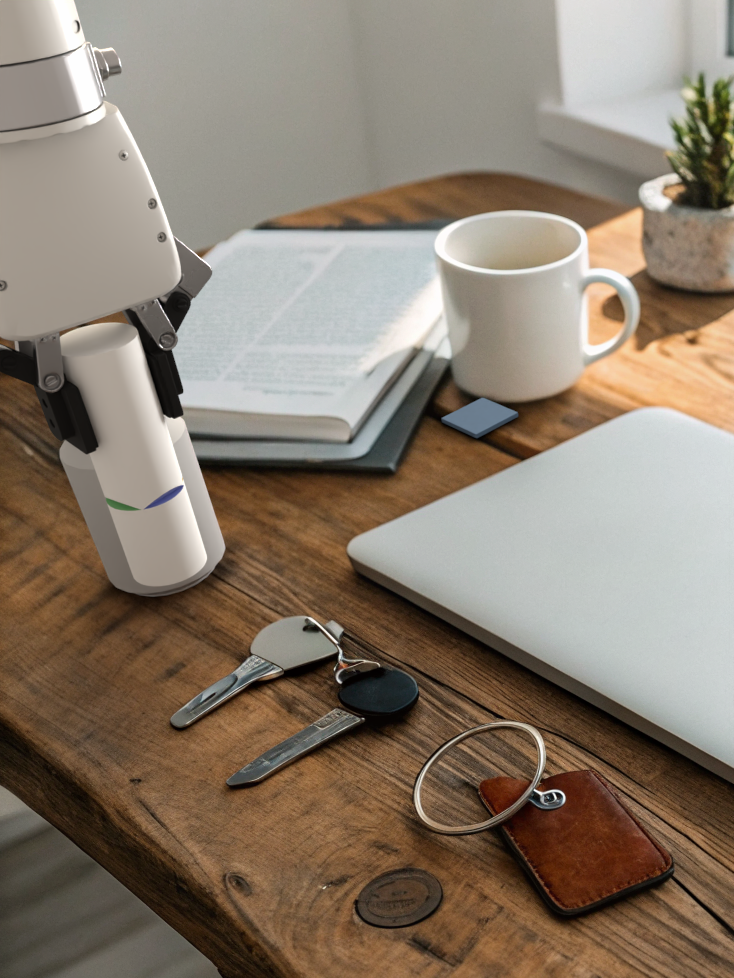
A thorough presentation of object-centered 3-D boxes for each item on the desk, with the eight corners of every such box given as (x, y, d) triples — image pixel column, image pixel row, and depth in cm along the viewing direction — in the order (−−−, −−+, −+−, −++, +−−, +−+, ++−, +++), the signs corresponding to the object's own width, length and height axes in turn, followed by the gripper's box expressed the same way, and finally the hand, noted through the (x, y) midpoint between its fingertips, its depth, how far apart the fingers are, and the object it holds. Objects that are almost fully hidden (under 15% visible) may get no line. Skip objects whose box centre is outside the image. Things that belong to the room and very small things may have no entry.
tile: (476, 438, 92) (476, 434, 92) (441, 422, 94) (440, 418, 94) (518, 416, 95) (518, 412, 94) (483, 401, 97) (482, 397, 97)
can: (87, 593, 77) (21, 436, 71) (165, 531, 83) (110, 380, 77) (178, 613, 75) (119, 452, 68) (251, 547, 81) (203, 393, 74)
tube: (135, 552, 72) (58, 328, 64) (208, 539, 73) (141, 318, 65) (128, 592, 69) (45, 361, 61) (205, 578, 70) (133, 349, 62)
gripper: (142, 50, 63) (224, 357, 73) (-212, 119, 53) (-59, 466, 63) (215, 68, 59) (291, 392, 69) (-155, 147, 49) (-1, 515, 59)
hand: (123, 424), depth 66 cm, fingers closed on tube, 4 cm apart
